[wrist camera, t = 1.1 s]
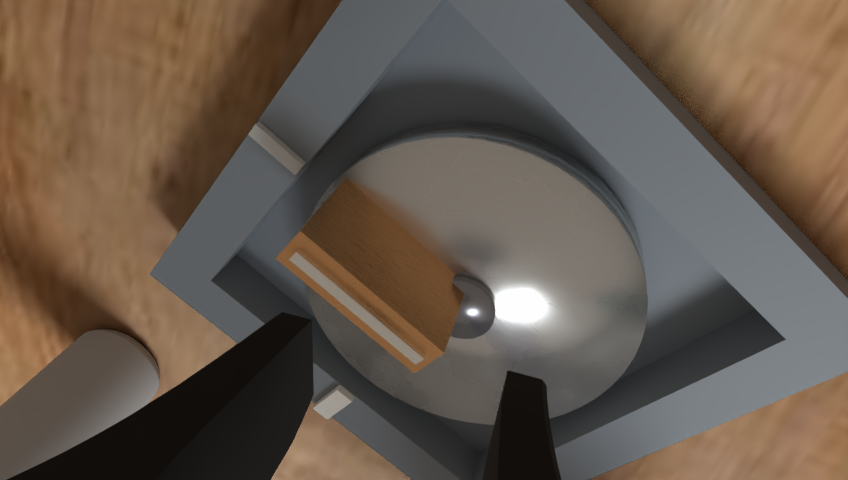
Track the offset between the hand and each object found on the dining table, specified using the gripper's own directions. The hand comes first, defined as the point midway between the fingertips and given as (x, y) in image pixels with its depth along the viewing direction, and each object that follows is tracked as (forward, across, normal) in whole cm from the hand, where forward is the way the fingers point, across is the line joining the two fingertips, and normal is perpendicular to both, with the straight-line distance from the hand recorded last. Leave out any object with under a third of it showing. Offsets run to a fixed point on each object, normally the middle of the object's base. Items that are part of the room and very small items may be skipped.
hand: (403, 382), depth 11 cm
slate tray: (+10, 0, +4) cm, 11 cm away
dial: (+10, 0, +4) cm, 11 cm away
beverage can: (+11, +17, +16) cm, 26 cm away
